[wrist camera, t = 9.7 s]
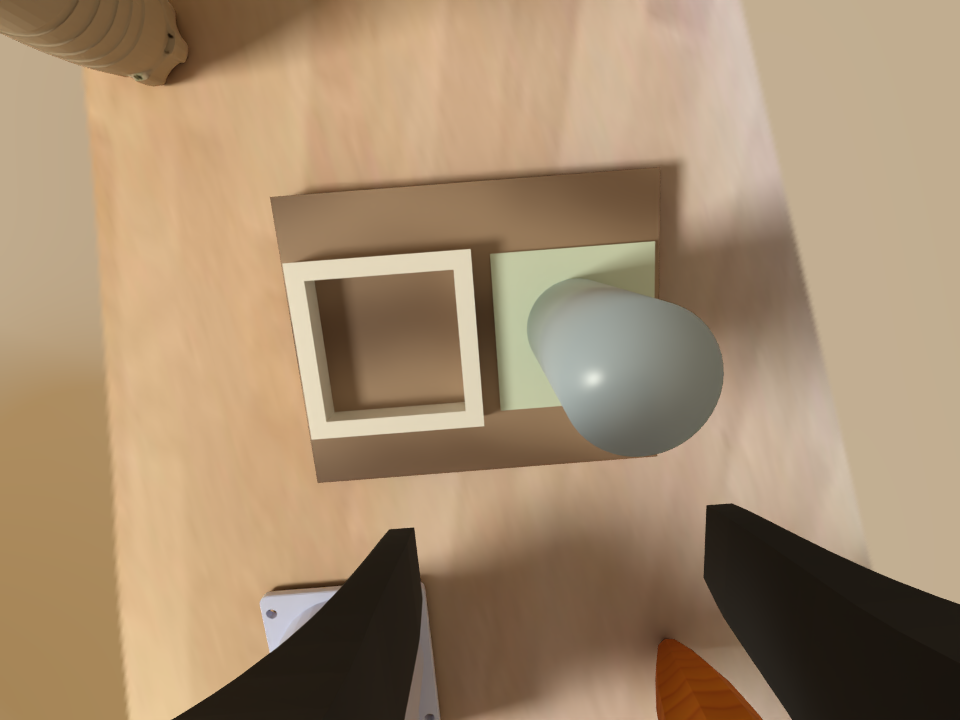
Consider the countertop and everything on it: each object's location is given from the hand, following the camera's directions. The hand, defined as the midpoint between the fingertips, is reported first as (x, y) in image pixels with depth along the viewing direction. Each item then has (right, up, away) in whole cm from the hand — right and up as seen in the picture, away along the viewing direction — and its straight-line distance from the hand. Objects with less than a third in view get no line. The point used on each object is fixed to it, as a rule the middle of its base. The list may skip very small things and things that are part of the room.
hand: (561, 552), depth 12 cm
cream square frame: (-6, +5, +8) cm, 11 cm away
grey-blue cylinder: (+2, +6, +8) cm, 10 cm away
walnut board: (-2, +6, +9) cm, 11 cm away
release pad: (+2, +6, +8) cm, 10 cm away
